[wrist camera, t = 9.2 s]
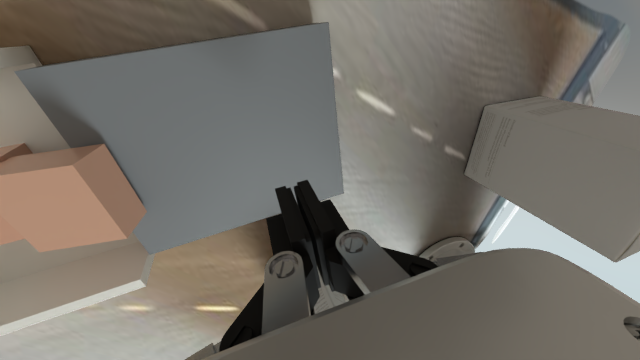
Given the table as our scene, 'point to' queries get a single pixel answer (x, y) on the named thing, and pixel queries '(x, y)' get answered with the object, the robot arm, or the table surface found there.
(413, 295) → the robot arm
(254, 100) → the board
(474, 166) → the supplement box
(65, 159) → the tile
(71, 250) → the tray
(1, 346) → the table surface
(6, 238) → the tile
